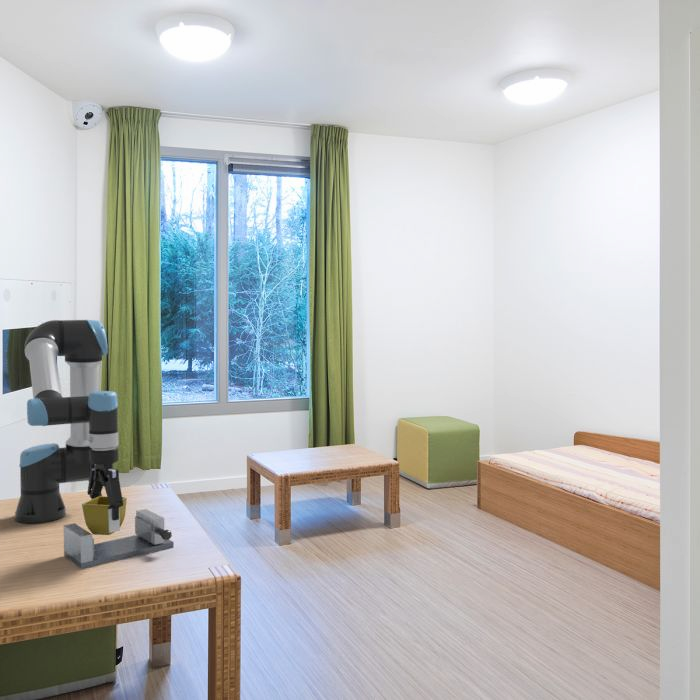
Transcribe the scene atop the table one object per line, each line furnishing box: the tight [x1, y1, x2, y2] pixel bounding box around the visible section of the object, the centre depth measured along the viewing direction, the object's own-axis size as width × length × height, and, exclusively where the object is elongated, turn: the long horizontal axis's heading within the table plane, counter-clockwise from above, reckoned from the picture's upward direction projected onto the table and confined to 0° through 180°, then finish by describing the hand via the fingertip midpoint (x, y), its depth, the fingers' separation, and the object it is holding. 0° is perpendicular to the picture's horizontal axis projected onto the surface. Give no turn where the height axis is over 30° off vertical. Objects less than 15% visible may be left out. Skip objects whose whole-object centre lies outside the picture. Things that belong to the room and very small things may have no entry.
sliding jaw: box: [134, 508, 172, 545], centre depth 196 cm, size 18×4×7 cm, turn 41°
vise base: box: [63, 522, 174, 570], centre depth 192 cm, size 13×26×8 cm, turn 131°
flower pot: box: [81, 495, 128, 536], centre depth 189 cm, size 9×9×9 cm
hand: (105, 526), depth 189 cm, fingers closed on flower pot, 12 cm apart
